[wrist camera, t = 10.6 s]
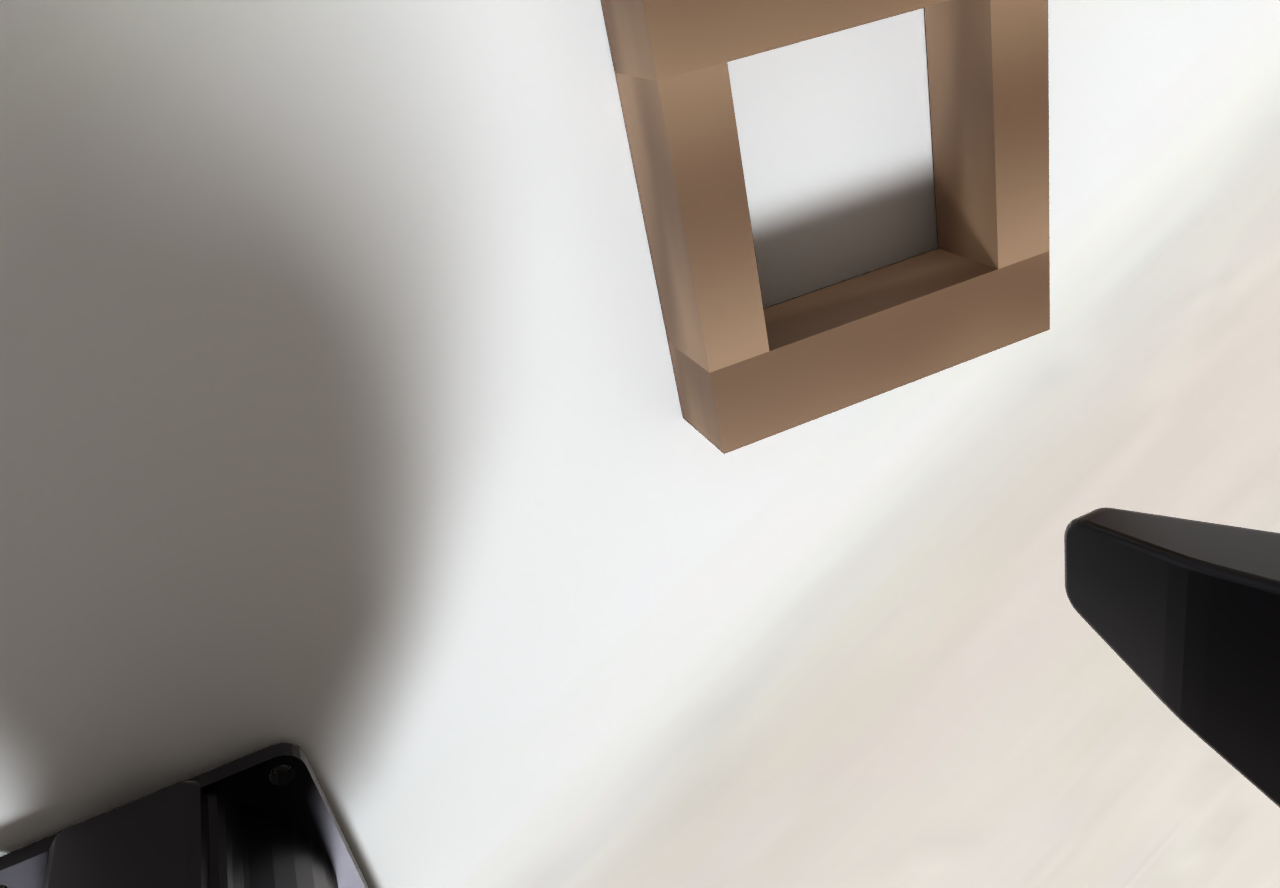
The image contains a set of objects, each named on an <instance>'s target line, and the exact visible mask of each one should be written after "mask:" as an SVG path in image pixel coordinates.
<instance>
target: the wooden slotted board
mask: <svg viewBox="0 0 1280 888" xmlns="http://www.w3.org/2000/svg"><path fill="white" fill-rule="evenodd" d="M601 4H602V9H603V14H604V20H605V25H606V30H607V35H608V40H609V45H610V50H611V55H612V60H613V65H614V70H615V75H616V80H617V85H618V91H619V96H620V101H621V106H622V111H623V116H624V121H625V126H626V131H627V136H628V141H629V146H630V151H631V156H632V161H633V167H634V172H635V177H636V182H637V187H638V192H639V197H640V202H641V207H642V212H643V217H644V222H645V227H646V232H647V237H648V243H649V248H650V253H651V258H652V263H653V268H654V273H655V278H656V283H657V288H658V293H659V298H660V303H661V308H662V313H663V319H664V324H665V329H666V334H667V339H668V344H669V349H670V354H671V359H672V364H673V369H674V374H675V379H676V384H677V390H678V395H679V400H680V405H681V410H682V415H683V418H684V419H685V420H686V421H687V422H688V423H689V424H691V425H692V426H693V427H694V428H695V429H696V430H697V431H699V432H700V433H701V434H702V435H703V436H704V437H705V438H707V439H708V440H709V441H710V442H711V443H712V444H713V445H715V446H716V447H717V448H718V449H719V450H720V451H721V452H723V453H724V454H725V453H728V452H730V451H733V450H736V449H738V448H741V447H743V446H746V445H749V444H751V443H754V442H756V441H759V440H762V439H764V438H767V437H770V436H772V435H775V434H777V433H780V432H783V431H785V430H788V429H790V428H793V427H796V426H798V425H801V424H804V423H806V422H809V421H811V420H814V419H817V418H819V417H822V416H824V415H827V414H830V413H832V412H835V411H838V410H840V409H843V408H845V407H848V406H851V405H853V404H856V403H858V402H861V401H864V400H866V399H869V398H872V397H874V396H877V395H879V394H882V393H885V392H887V391H890V390H892V389H895V388H898V387H900V386H903V385H905V384H908V383H911V382H913V381H916V380H919V379H921V378H924V377H926V376H929V375H932V374H934V373H937V372H939V371H942V370H945V369H947V368H950V367H953V366H955V365H958V364H960V363H963V362H966V361H968V360H971V359H973V358H976V357H979V356H981V355H984V354H987V353H989V352H992V351H994V350H997V349H1000V348H1002V347H1005V346H1007V345H1010V344H1013V343H1015V342H1018V341H1021V340H1023V339H1026V338H1028V337H1031V336H1034V335H1036V334H1039V333H1041V332H1044V331H1047V330H1049V329H1050V301H1049V101H1048V0H601ZM921 8H924V9H925V26H926V43H927V60H928V78H929V95H930V112H931V129H932V146H933V163H934V181H935V198H936V215H937V232H938V249H935V250H932V251H929V252H927V253H924V254H921V255H918V256H915V257H912V258H909V259H906V260H903V261H901V262H898V263H895V264H892V265H889V266H886V267H883V268H880V269H877V270H875V271H872V272H869V273H866V274H863V275H860V276H857V277H854V278H852V279H849V280H846V281H843V282H840V283H837V284H834V285H831V286H828V287H826V288H823V289H820V290H817V291H814V292H811V293H808V294H805V295H802V296H800V297H797V298H794V299H791V300H788V301H785V302H782V303H779V304H777V305H774V306H771V307H768V308H765V309H763V304H762V297H761V290H760V283H759V277H758V270H757V263H756V256H755V249H754V243H753V236H752V229H751V222H750V215H749V209H748V202H747V195H746V188H745V181H744V175H743V168H742V161H741V154H740V147H739V141H738V134H737V127H736V120H735V113H734V107H733V100H732V93H731V86H730V79H729V72H728V66H727V62H729V61H732V60H736V59H739V58H743V57H747V56H750V55H754V54H758V53H761V52H765V51H769V50H772V49H776V48H779V47H783V46H787V45H790V44H794V43H798V42H801V41H805V40H808V39H812V38H816V37H819V36H823V35H827V34H830V33H834V32H838V31H841V30H845V29H848V28H852V27H856V26H859V25H863V24H867V23H870V22H874V21H877V20H881V19H885V18H888V17H892V16H896V15H899V14H903V13H906V12H910V11H914V10H917V9H921Z"/></svg>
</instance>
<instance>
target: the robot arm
mask: <svg viewBox="0 0 1280 888" xmlns="http://www.w3.org/2000/svg"><path fill="white" fill-rule="evenodd" d="M1064 545H1065V589H1066V593H1067V596H1068V598H1069V600H1070V602H1071V604H1072V605H1073V607H1074V608H1075V610H1076V611H1077V612H1078V613H1079V614H1080V615H1081V617H1082V618H1083V619H1084V620H1085V621H1086V622H1087V623H1088V624H1089V625H1090V626H1091V627H1092V628H1093V629H1094V630H1095V631H1096V632H1097V633H1098V634H1099V636H1100V637H1101V638H1102V639H1103V640H1104V641H1105V642H1106V643H1107V644H1108V645H1109V646H1110V647H1111V648H1112V649H1113V650H1114V651H1115V652H1116V653H1117V655H1118V656H1119V657H1120V658H1121V659H1122V660H1123V661H1124V662H1125V663H1126V664H1127V665H1128V666H1129V667H1130V668H1131V669H1132V670H1133V671H1134V672H1135V674H1136V675H1137V676H1138V677H1139V678H1140V679H1141V680H1142V681H1143V682H1144V683H1145V684H1146V685H1147V686H1148V687H1149V688H1150V689H1151V690H1152V691H1153V693H1154V694H1155V695H1156V696H1157V697H1158V698H1159V699H1160V700H1161V701H1162V702H1163V703H1164V704H1165V705H1166V706H1167V707H1168V708H1169V709H1170V710H1171V711H1172V712H1173V713H1174V714H1175V715H1176V716H1177V717H1178V718H1179V719H1180V720H1181V721H1182V722H1183V723H1184V724H1185V725H1187V726H1188V727H1189V728H1190V729H1191V730H1192V731H1193V732H1194V733H1195V734H1196V735H1197V736H1199V737H1200V738H1201V739H1202V740H1203V741H1204V742H1205V743H1207V744H1208V745H1209V746H1210V747H1211V748H1212V749H1213V750H1215V751H1216V752H1217V753H1218V754H1219V755H1220V756H1221V757H1223V758H1224V759H1225V760H1226V761H1227V762H1228V763H1229V764H1231V765H1232V766H1233V767H1234V768H1235V769H1236V770H1237V771H1239V772H1240V773H1241V774H1242V775H1243V776H1244V777H1245V778H1247V779H1248V780H1249V781H1250V782H1251V783H1252V784H1253V785H1255V786H1256V787H1257V788H1258V789H1259V790H1260V791H1261V792H1263V793H1264V794H1265V795H1266V796H1267V797H1268V798H1269V799H1271V800H1272V801H1273V802H1274V803H1275V804H1276V805H1278V806H1279V807H1280V533H1274V532H1267V531H1261V530H1254V529H1247V528H1241V527H1234V526H1227V525H1221V524H1214V523H1207V522H1201V521H1194V520H1187V519H1181V518H1174V517H1167V516H1161V515H1154V514H1147V513H1141V512H1134V511H1127V510H1121V509H1114V508H1100V509H1096V510H1094V511H1092V512H1090V513H1087V514H1085V515H1083V516H1081V517H1079V518H1076V519H1074V520H1073V521H1071V522H1070V523H1069V524H1068V526H1067V528H1066V530H1065V536H1064ZM281 765H287V766H291V768H290V769H288V770H287V771H285V772H281V773H275V772H272V771H271V770H273V769H274V768H275V767H277V766H281ZM0 885H5V886H7V887H8V888H369V887H368V885H367V883H366V881H365V878H364V876H363V874H362V872H361V870H360V868H359V866H358V864H357V862H356V860H355V858H354V856H353V853H352V851H351V849H350V847H349V845H348V843H347V841H346V839H345V837H344V835H343V833H342V831H341V828H340V826H339V824H338V822H337V820H336V818H335V816H334V814H333V812H332V810H331V808H330V806H329V803H328V801H327V799H326V797H325V795H324V793H323V791H322V789H321V787H320V785H319V783H318V781H317V778H316V776H315V774H314V772H313V770H312V768H311V766H310V764H309V762H308V760H307V758H306V756H305V754H304V752H303V751H302V750H301V749H300V747H298V746H296V745H294V744H291V743H279V744H275V745H272V746H269V747H267V748H264V749H262V750H259V751H257V752H255V753H252V754H250V755H247V756H245V757H242V758H240V759H237V760H235V761H233V762H230V763H228V764H225V765H223V766H220V767H218V768H216V769H213V770H211V771H208V772H206V773H203V774H201V775H199V776H196V777H194V778H191V779H189V780H186V781H182V782H179V783H177V784H174V785H172V786H169V787H167V788H165V789H162V790H160V791H157V792H155V793H152V794H150V795H148V796H145V797H143V798H140V799H138V800H135V801H133V802H131V803H128V804H126V805H123V806H121V807H118V808H116V809H114V810H111V811H109V812H106V813H104V814H101V815H99V816H97V817H94V818H92V819H89V820H87V821H84V822H82V823H80V824H77V825H75V826H72V827H70V828H67V829H65V830H62V831H61V832H59V833H58V834H55V835H53V836H50V837H48V838H45V839H43V840H41V841H38V842H36V843H33V844H31V845H28V846H26V847H24V848H21V849H19V850H16V851H14V852H11V853H9V854H7V855H4V856H2V857H0Z"/></svg>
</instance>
